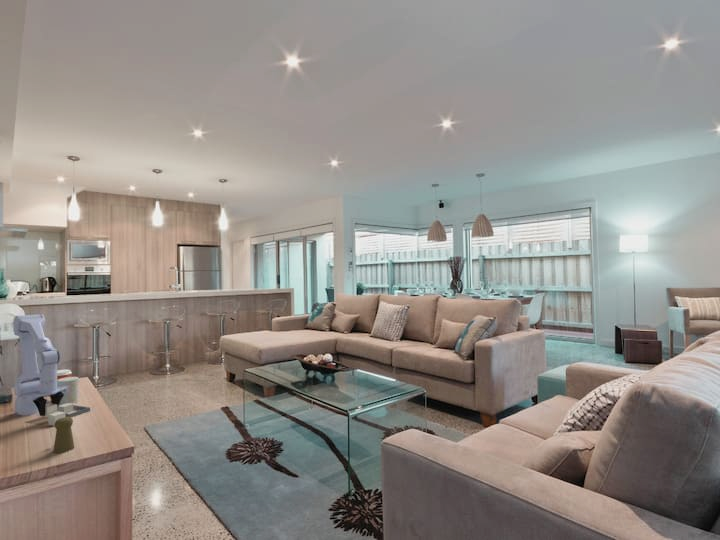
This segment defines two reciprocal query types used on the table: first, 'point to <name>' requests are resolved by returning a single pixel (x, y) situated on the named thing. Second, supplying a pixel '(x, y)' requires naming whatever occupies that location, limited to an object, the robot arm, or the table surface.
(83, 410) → the bin
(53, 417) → the off-white block
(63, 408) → the cream matte cube
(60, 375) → the paper cup
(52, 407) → the off-white stacked cube
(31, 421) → the brown flat slab
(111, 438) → the table surface
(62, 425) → the cork
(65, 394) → the cup
